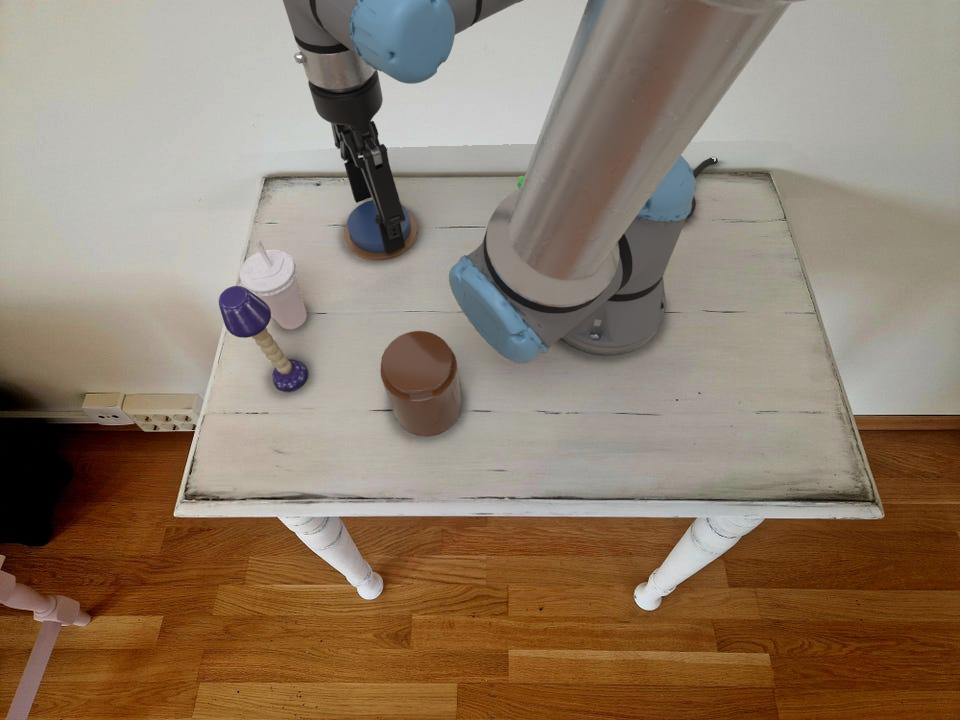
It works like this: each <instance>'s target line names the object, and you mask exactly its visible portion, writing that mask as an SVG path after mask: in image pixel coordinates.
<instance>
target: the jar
mask: <svg viewBox="0 0 960 720" xmlns="http://www.w3.org/2000/svg"><path fill="white" fill-rule="evenodd" d="M456 357H457V356H456V355H455V352H454V351H453V350H452V348H451V347H450V346H449V344H448V343H447V342H446V340H444V339H443V338H442V337H441V336H439V335H437V334H436V333H433V332H430V331H425V330H413V331H409V332H405V333H404V334H401V335H399V336H397V337H395V338H394V339H393V340H392V341H391V342H390V343H389V344H388V346H387V347H386V348H385V349H384V352H383V354H382V356H381V360H380V361H381V362H380V377H381V378H380V379H381V381H382V384H383V386H384V391H385V392H386V395H387V398H388V401H389V403H390V406H391V410H392V412H393V414H394V417H395V420H396V422H397V423H398V425H399V426H400V427H401V428H402V429H403V430H405V431H406V432H408V433H410V434H411V435H414V436H418V437H433V436H437V435H441V434H442V433H444V432H446V431H448V430H449V429H450V428H451V427H452V426H454V424H455V423H456V421H458V419H459V417H460V414H461V411H462V395H461V387H460V379H459V369H458V363H457V362H458V361H457V358H456Z"/></svg>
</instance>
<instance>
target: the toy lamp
mask: <svg viewBox="0 0 960 720" xmlns="http://www.w3.org/2000/svg"><path fill="white" fill-rule="evenodd" d="M218 307H219V311H220V314H221V317H222V320H223V323H224V326H225V328H226V330H227V331H228V332H229V333H230V334H231V335H232V336H234V337H236V338H241V339H245V338H246V339H247V338H252V339H253V340H254V342H255V343H256V345H257V346H259V347H260V351H262V353H263V354H264V355H265V356H266V358H267V359H268V360H269V361H270V363H271V364H272V366H274V369H273V370H272V375H271V376H272V382H273V383H272V384H273V385H274V387H275V388H276V389H277V390H278V391H281V392H283V393H284V392H285V393H288V392H289V393H291V392H295V391H297V390H298V389H300V388H302V387H303V386H304V385H305V384H306V382H307V380H308V378H309V370H308V368H307V366H306V365H305V364H304V363H303V362H302V361H300V360H298V359H292V358H288V357H287V355H286V354H285V353H284V351H283V349H282V348H281V347H280V346H279V343H278V342H277V341H276V340H275V339H274V337H273V336H272V334H271V333H270V332H269V330H268V325H269V324H270V322H271V319H272V318H271V317H272V315H271V311H270V308H269V306H268V305H267V304H266V303H265V302H264V301H263V300H262V299H260V298H259V297H257V296H256V295H255V294H253V293H252V292H250V291H249V290H248V289H246V288H244V286H243V285H242V286H241V285H232V286H230V287H227V288H226V289H224V290H223V291H222V292H221V293H220V295H219V297H218Z"/></svg>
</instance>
